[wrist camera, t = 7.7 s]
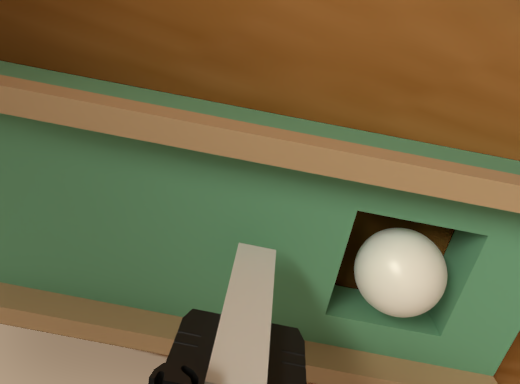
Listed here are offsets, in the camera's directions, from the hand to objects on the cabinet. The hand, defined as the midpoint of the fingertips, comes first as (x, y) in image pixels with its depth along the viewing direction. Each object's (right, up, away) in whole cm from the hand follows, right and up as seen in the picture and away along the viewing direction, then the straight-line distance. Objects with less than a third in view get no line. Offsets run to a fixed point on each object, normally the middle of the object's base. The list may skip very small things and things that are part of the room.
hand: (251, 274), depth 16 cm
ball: (+7, 0, +2) cm, 7 cm away
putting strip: (-4, +3, +4) cm, 6 cm away
